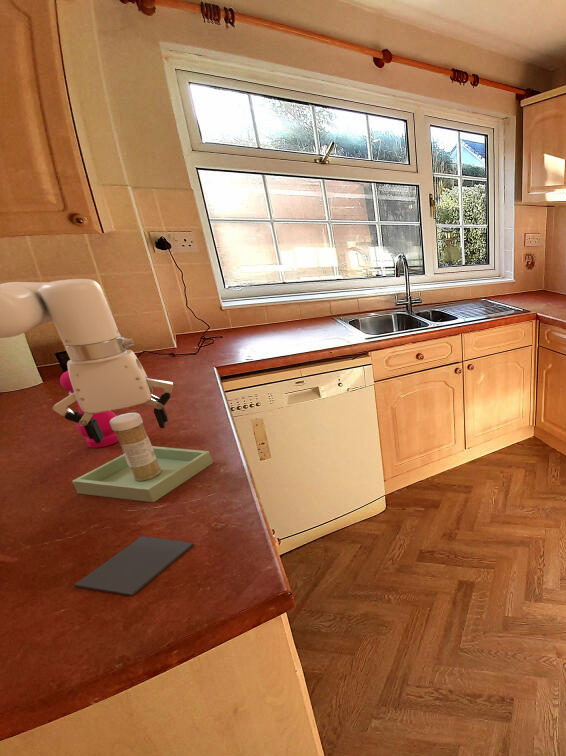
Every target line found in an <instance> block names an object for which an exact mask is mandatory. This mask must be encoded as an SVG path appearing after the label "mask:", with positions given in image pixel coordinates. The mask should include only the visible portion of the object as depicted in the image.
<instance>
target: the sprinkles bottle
mask: <svg viewBox="0 0 566 756" xmlns="http://www.w3.org/2000/svg"><path fill="white" fill-rule="evenodd" d="M143 422H144V421H143V418H142V415H141V414H140V413H138V412H127V413H124V414H120V415H119V414H118V415H116V417H114V418H112V419H111V420H110V425H111V428H112V430H114V432H115V433H116V436H117V438H118V443H119V445H120V448H121V450H122V453H123V454H124V456H125V458H126V461H127V463H128V465H129V467H130V469H131V471H132V474H133V476H134V477H133V478H134V480H136V481H144V480H148V479H151V478H154V477H156V476H157V475H159V474H160V473H161V471H162V470H161V468H160V467H159V464H158V462H157V459H156V455H155V453H154V450H153V448H152V446H153V445H152V443H151V440H150V438H149V435H148V434H147V431H146V429H145V426H144V423H143ZM123 454H122V455H123Z"/></svg>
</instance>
